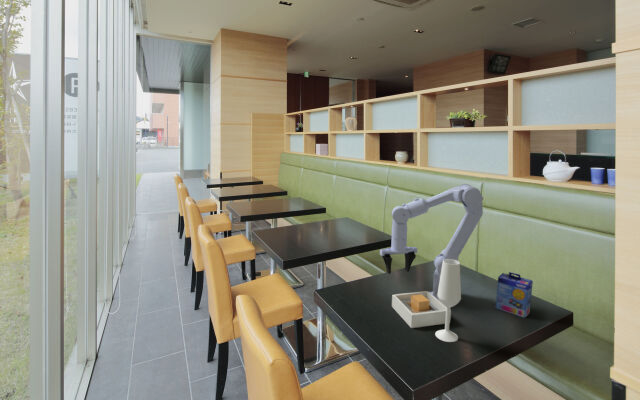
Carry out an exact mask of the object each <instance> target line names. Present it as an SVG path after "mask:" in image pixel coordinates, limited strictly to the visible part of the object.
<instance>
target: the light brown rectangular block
mask: <svg viewBox="0 0 640 400" xmlns="http://www.w3.org/2000/svg"><path fill="white" fill-rule="evenodd" d="M411 308H412V309H413V310H414V311H415V312H418V311H427V310H429V300H428V299H427V298H425V297H424V296H423V295H422V294H420V295H413V296H411Z"/></svg>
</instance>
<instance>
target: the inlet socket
mask: <svg viewBox="0 0 640 400" xmlns="http://www.w3.org/2000/svg"><path fill="white" fill-rule="evenodd" d="M401 302H402V303H403V304H404V305H405V306H406V307H407V308H408V309H409V310H410V311H411V312H412V313H413V314H414V313H422V312H430V311H439V309H438V308H436V307H435V306H434V305H433V304H432V303H431V302H429V310H427V311H418V312H415V311H414V310H413V309H412V308H411V300H407V301H401Z"/></svg>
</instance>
